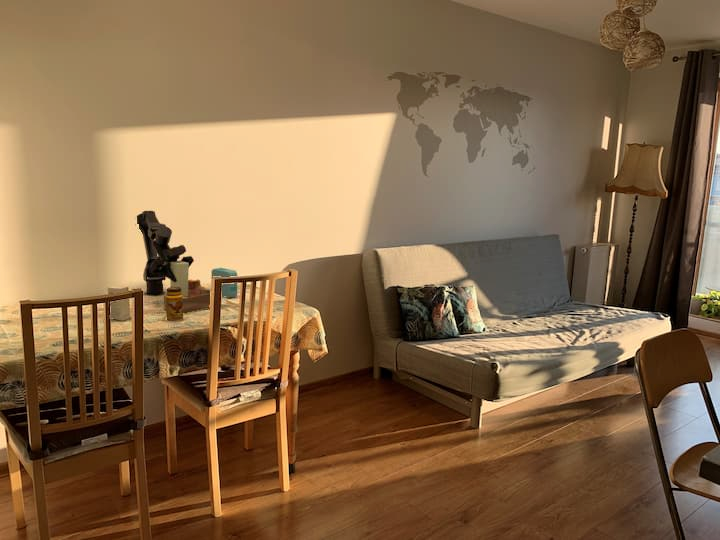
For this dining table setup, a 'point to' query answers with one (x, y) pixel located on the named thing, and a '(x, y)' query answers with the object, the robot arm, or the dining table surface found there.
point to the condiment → (174, 305)
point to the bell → (194, 288)
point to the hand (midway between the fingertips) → (181, 280)
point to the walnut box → (195, 301)
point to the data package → (227, 289)
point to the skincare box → (119, 304)
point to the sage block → (180, 276)
